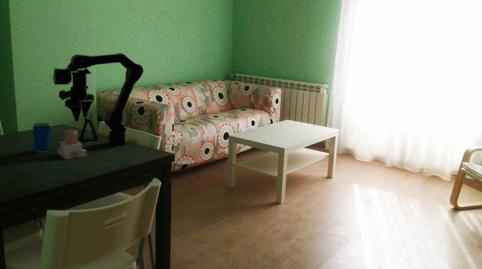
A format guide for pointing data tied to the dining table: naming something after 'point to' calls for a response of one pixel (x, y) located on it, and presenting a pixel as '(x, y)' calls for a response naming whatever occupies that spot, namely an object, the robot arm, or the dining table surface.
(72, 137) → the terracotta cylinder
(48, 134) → the beverage can
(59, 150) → the tower base
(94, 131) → the phone stand
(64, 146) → the tower top
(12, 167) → the dining table surface
